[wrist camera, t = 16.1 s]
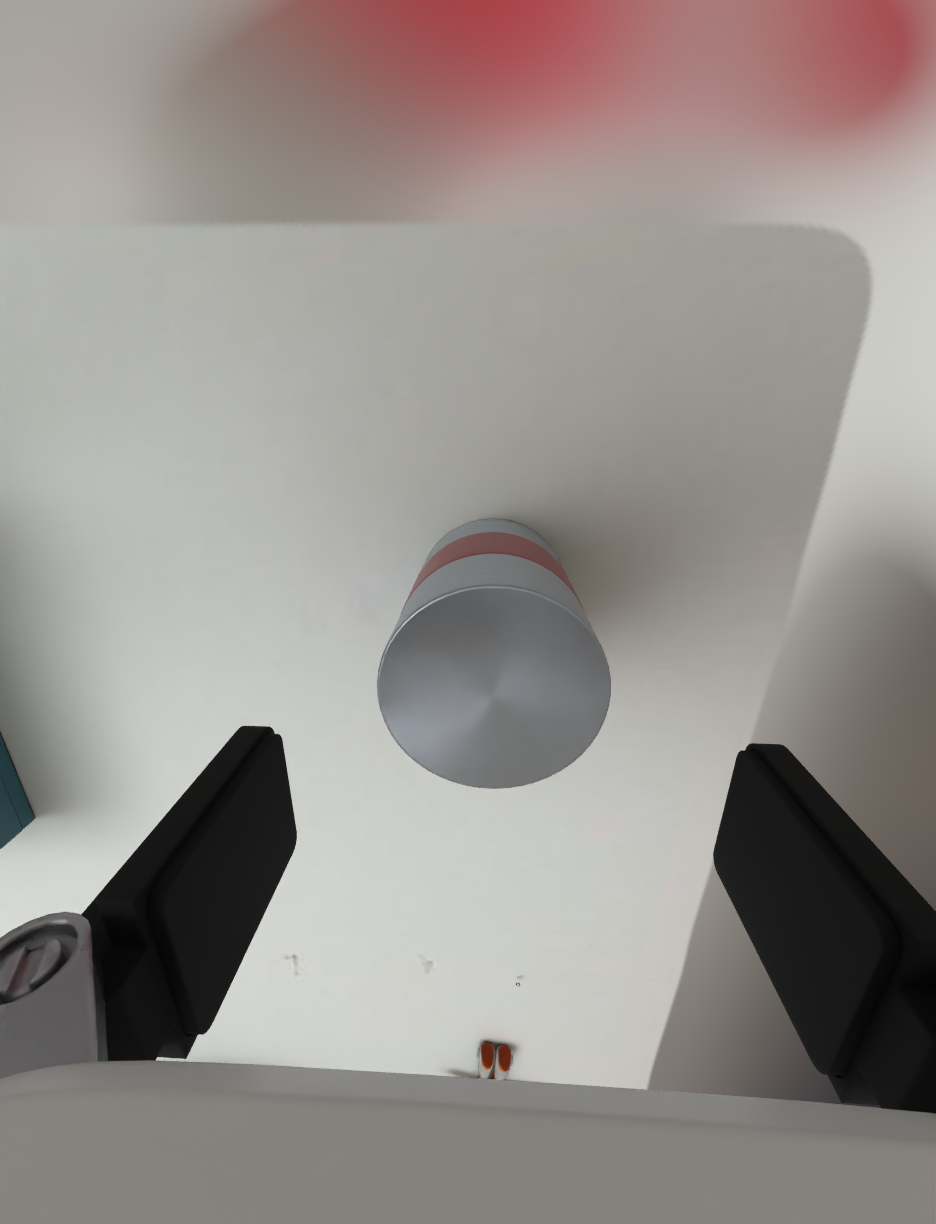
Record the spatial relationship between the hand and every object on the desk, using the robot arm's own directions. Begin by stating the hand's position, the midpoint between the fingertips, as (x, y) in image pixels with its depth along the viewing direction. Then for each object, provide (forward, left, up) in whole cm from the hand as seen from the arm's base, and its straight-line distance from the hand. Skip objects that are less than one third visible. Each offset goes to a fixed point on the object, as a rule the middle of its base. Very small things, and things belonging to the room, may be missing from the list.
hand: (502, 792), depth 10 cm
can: (0, 0, -13) cm, 13 cm away
